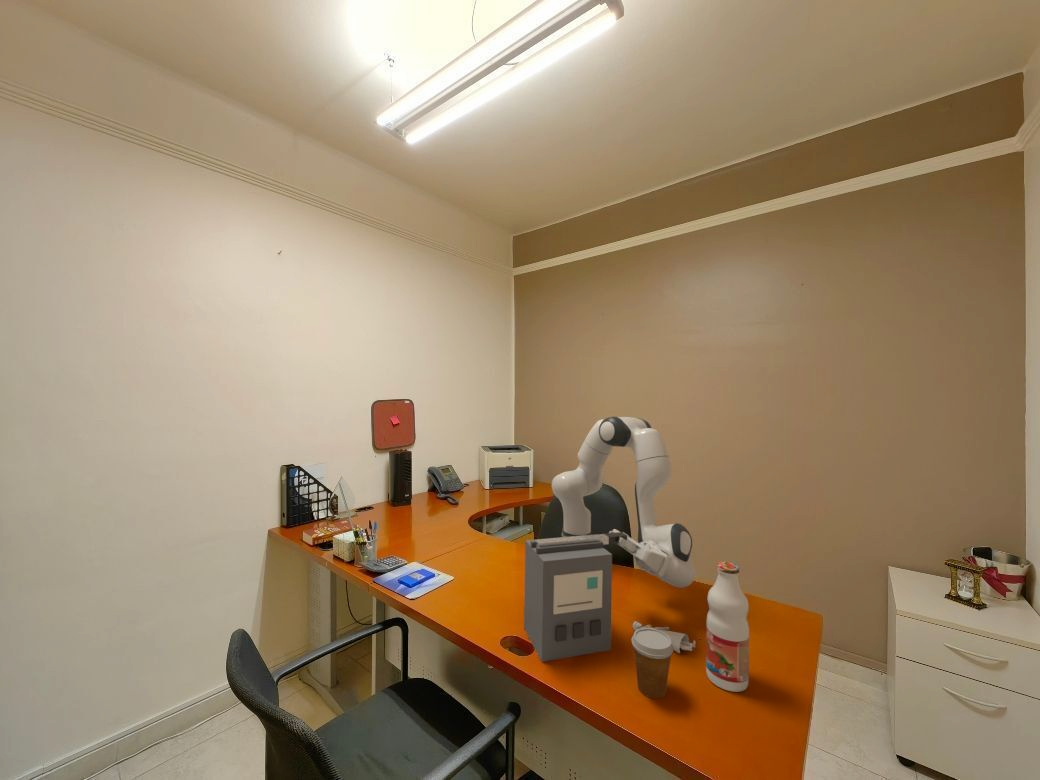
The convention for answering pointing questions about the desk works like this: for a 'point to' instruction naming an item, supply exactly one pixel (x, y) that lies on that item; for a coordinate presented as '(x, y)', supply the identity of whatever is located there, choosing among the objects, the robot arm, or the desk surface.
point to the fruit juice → (727, 631)
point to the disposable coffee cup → (652, 660)
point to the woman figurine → (671, 637)
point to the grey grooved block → (568, 599)
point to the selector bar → (582, 539)
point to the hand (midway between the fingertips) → (614, 536)
